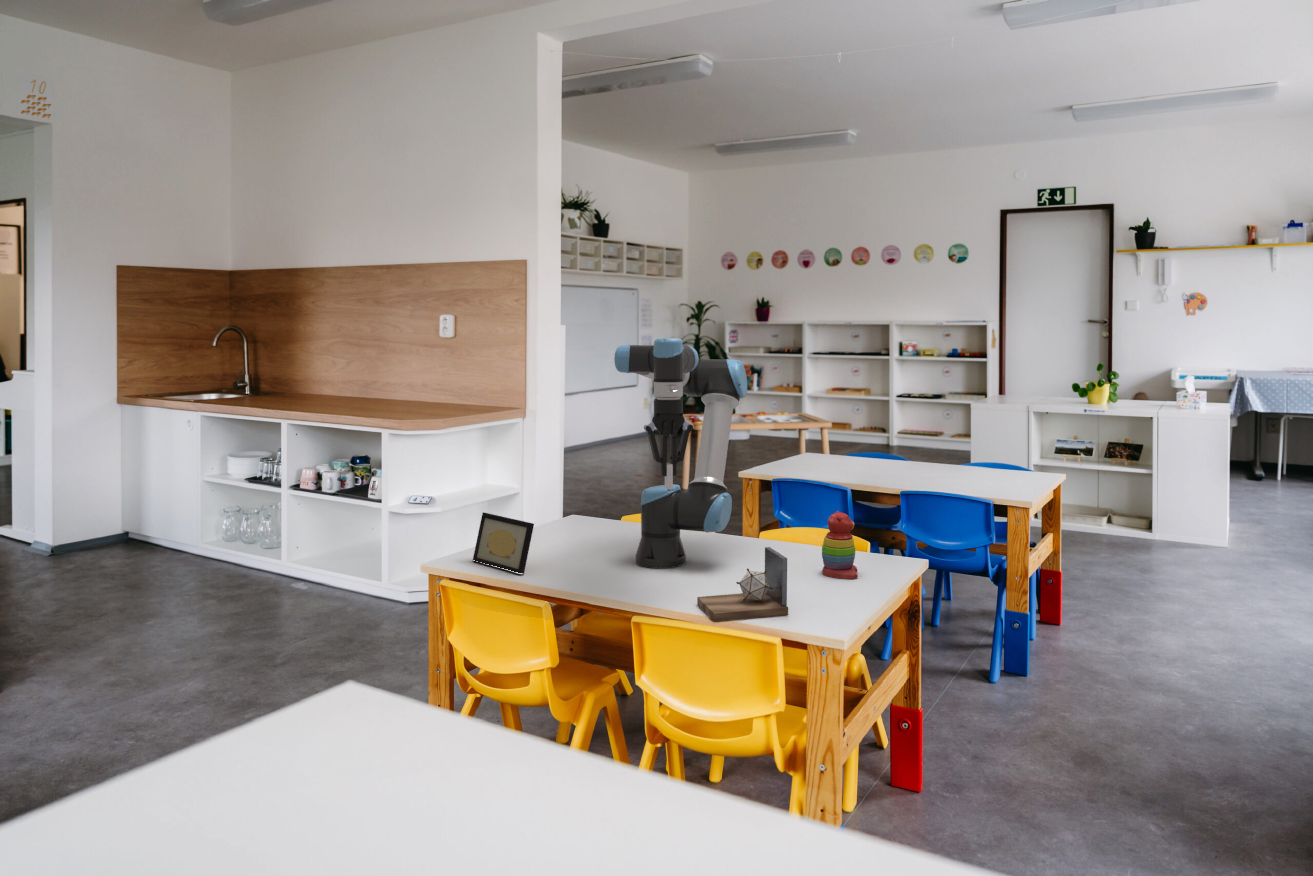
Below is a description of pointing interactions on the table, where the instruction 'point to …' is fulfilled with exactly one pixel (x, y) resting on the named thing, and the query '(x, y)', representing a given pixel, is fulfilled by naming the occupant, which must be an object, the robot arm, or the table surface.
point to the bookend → (776, 575)
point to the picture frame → (503, 542)
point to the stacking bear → (839, 548)
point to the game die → (754, 585)
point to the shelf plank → (739, 607)
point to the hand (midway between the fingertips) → (668, 488)
